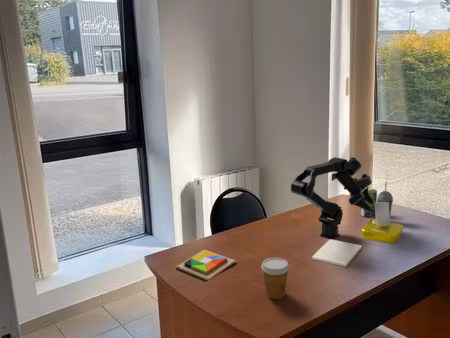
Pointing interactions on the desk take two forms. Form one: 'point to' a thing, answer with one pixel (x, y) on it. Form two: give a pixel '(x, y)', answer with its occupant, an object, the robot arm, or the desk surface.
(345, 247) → the notebook
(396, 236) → the element tile
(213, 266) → the wooden puzzle
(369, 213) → the coffee box
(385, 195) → the beverage cup
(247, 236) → the desk surface
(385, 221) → the grey cylinder
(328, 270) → the desk surface
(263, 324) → the desk surface
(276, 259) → the disposable coffee cup
